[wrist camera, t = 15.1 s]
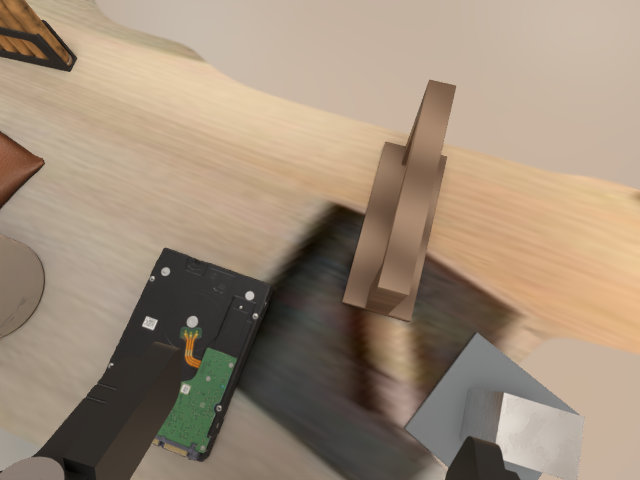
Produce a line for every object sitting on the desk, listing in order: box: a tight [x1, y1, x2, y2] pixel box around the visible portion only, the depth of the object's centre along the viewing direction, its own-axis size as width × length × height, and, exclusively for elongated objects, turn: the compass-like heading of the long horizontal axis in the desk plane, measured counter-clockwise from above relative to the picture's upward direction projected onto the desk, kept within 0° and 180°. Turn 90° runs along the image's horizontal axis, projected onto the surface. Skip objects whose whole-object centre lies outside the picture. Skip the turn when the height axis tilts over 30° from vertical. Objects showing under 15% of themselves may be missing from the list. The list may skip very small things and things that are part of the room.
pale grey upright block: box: [459, 388, 584, 480], centre depth 31 cm, size 4×5×8 cm
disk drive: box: [103, 248, 273, 462], centre depth 37 cm, size 10×3×15 cm
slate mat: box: [404, 333, 579, 480], centre depth 35 cm, size 10×10×1 cm
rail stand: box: [342, 80, 456, 322], centre depth 35 cm, size 16×6×11 cm, turn 164°
